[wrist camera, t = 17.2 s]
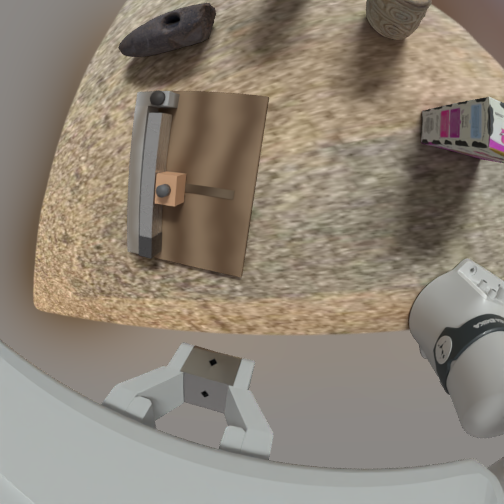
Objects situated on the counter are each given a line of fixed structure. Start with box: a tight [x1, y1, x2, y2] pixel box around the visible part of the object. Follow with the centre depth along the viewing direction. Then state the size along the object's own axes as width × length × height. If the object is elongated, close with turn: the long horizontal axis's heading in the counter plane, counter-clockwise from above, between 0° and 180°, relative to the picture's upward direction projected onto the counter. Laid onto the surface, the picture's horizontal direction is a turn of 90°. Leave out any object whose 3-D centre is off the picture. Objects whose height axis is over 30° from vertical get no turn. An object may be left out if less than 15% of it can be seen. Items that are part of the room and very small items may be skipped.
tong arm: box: [139, 113, 172, 258], centre depth 37 cm, size 2×20×3 cm, turn 171°
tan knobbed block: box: [155, 171, 186, 207], centre depth 36 cm, size 3×4×4 cm
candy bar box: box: [421, 97, 504, 163], centre depth 22 cm, size 11×5×16 cm, turn 88°
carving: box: [366, 0, 432, 40], centre depth 20 cm, size 6×8×12 cm
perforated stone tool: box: [118, 3, 216, 57], centre depth 28 cm, size 15×5×7 cm, turn 95°
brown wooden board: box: [127, 91, 269, 277], centre depth 36 cm, size 19×25×5 cm
